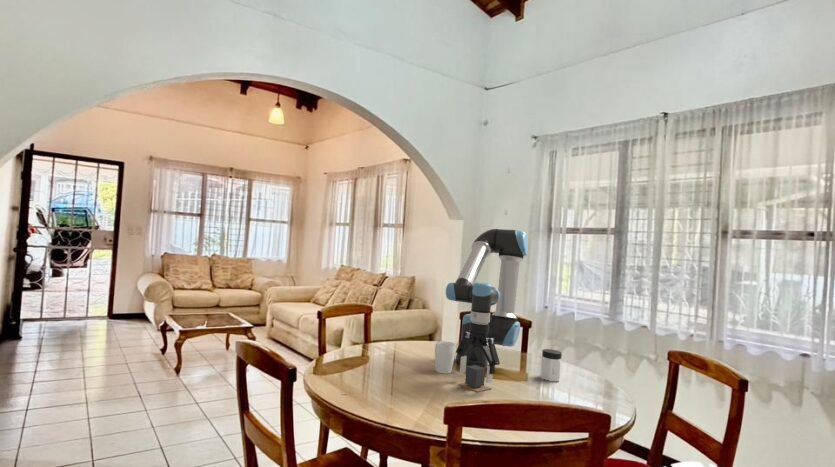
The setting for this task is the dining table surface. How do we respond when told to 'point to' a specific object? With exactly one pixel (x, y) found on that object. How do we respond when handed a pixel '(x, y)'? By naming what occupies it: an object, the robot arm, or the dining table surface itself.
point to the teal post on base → (477, 389)
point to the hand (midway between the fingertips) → (475, 377)
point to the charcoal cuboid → (475, 376)
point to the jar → (550, 365)
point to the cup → (444, 356)
